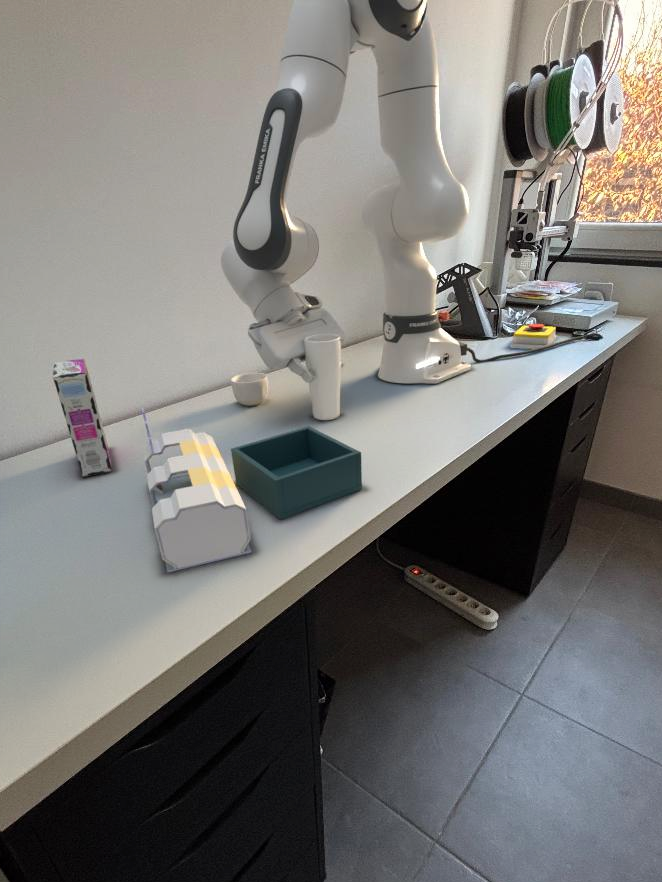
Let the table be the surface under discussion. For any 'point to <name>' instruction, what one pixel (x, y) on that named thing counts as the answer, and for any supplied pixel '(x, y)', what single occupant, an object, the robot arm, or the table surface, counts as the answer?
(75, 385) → the candy bar box
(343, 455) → the bin
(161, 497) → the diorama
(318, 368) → the drinking glass
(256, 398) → the teacup
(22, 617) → the table surface
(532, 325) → the emergency button
